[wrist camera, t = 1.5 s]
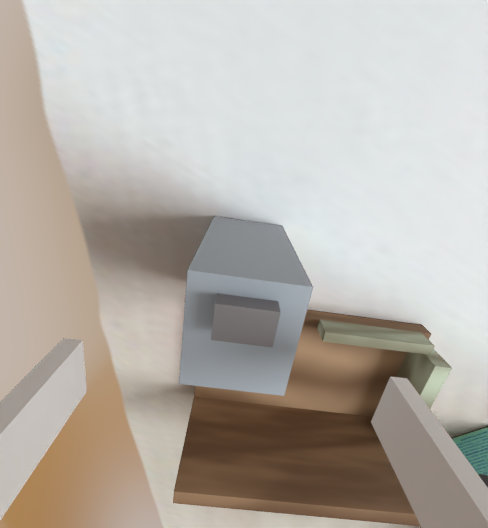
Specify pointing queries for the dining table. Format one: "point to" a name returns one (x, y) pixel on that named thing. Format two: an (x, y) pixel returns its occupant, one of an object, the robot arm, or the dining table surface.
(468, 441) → the milk carton
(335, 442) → the brown wooden l-shaped piece
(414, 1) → the dining table surface
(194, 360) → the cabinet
